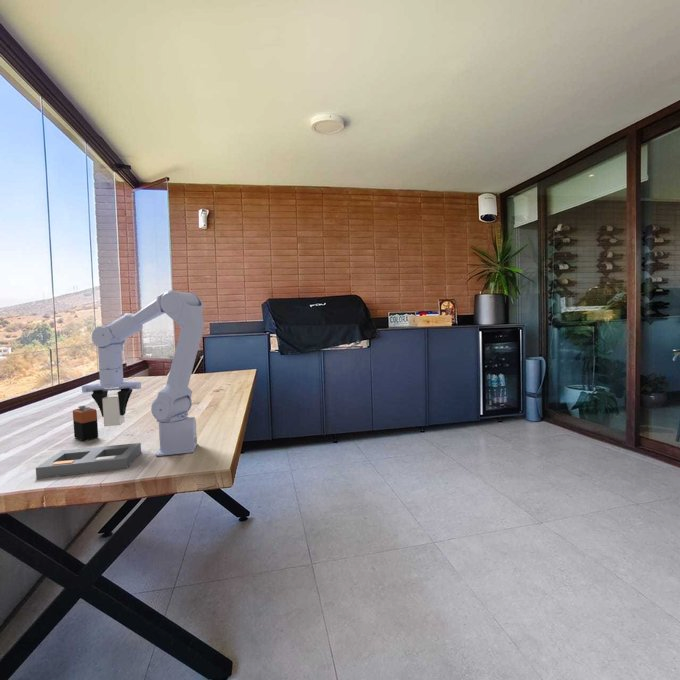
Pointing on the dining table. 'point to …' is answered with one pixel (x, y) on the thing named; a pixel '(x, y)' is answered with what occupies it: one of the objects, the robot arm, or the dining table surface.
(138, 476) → the dining table surface
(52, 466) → the socket block
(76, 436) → the battery
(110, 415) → the plug
